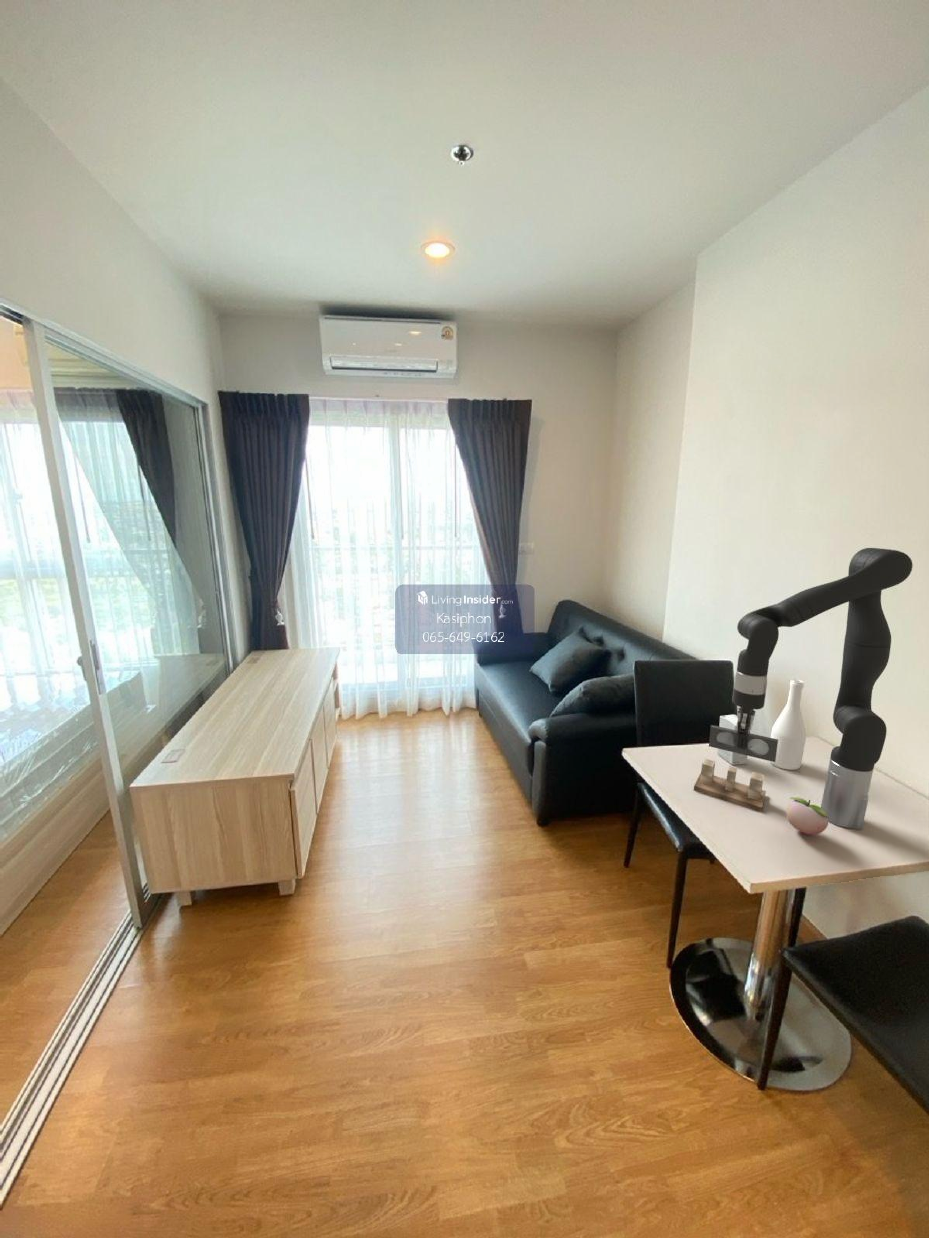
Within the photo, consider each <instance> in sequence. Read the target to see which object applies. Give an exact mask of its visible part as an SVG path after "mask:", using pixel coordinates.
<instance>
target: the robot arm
mask: <svg viewBox="0 0 929 1238" xmlns="http://www.w3.org/2000/svg"><path fill="white" fill-rule="evenodd" d="M913 566H914V565H913V560H912V558H911V557H910V556H909V555H908V554H907V553H905V552H903V551H900V550H896V549H887V548H879V547H864V548H861V549H860V550H858V551H857V552H856V553H855V554H853V555H852V557H851V560H850V562H849V565H848V575H847V576H845V577H842V578H840V579H836V580H834V581H830V582H826V583H824V584H820V585H816V586H813V587H809V588H807V589H804V590H801V591H800V592H797V593H795V594H793V595H791V596H789V597H787V598H785V599H784V600H781V601H780V602H778V603H775V604H772V605H768V606H765V607H761V608H758V609H755V610H753V611H751V612H748V613H746V614H745V615H744V616H742V617H741V618H740V619H739V621H738V622H737V628H736V629H737V632H738V634H740V636H741V637H743V638H745V639H746V640H747V641H748V642H747V647H746V649H742V650H741V651H740V652H739V654H738V657H737V658H738V659H737V665H736V671H735V672H736V673H735V675H734V682H733V690H732V698H731V702H732V703H733V705H735V706H737V707H738V711H737V713H736V714H737V715H736V716H737V718H738V721H737V727H738V731H737V736H738V743H737V747H738V748H741V749H746V747H747V740H748V737H749V733H751V731H752V729H753V726H754V720H755V717H756V712H757V711H756V710H761V709H763V708H764V707H765V704H766V703H765V702H766V695H767V688H768V687H767V686H768V672H769V667H770V666H769V664H770V660H771V657H772V655H773V653H774V651H775V648H776V645H777V644H778V641H779V635H780V634H779V628H782V627H786V628H787V627H788V628H793V627H795V626H799V625H800V624H802V623H804V622H807V621H809V620H811V619H812V618H814V617H816V616H818V615H820V614H822V613H824V612H828V611H829V610H831V609H834V608H836V607H838V606H841V605H844V604H846V603H848V607H847V616H846V617H847V618H846V629H845V635H844V641H843V651H842V662H841V663H842V664H841V671H840V672H841V675H840V684H839V689H838V694H837V698H836V702H835V705H834V710H833V714H832V720H833V723H834V726H835V728H836V729H837V730H838V731H839V732H840V733H841V734H842V737H841V741H840V745H839V746H837V745H836V746H835V747H833V748H832V749H831V752H830V757H829V761H828V762H829V763H828V767H827V773H826V778H825V784H824V788H823V794H822V800H821V803H820V804H821V805H820V808H822V809H823V810H824V811H825V813H826V814H827V816H828V818H829V819H828V822H830V823H832V824H834V825H836V826H839V827H842V828H847V829H858V830H862V829H863V826H864V821H865V818H866V817H865V816H866V812H867V806H868V803H869V791H870V787H871V786H870V785H871V782H872V777H873V773H874V768H875V765H876V764H878V762H879V760H880V759H881V756H882V752H883V750H884V746H885V743H886V742H885V741H886V737H887V733H888V731H887V725H886V722H885V721H884V720H883V719H882V717H880V716H879V715H877V713H875V712H874V711H873V709H872V697H873V690H874V686H875V683H876V682H877V680H879V678H880V676H882V674H883V672H884V671H885V669H886V668H887V665H888V663H889V659H890V655H891V647H892V633H891V630H890V627H889V624H888V621H887V618H886V616H885V614H884V610H883V608H882V591H883V590H887V589H888V588H892V587H895V586H898V585H900V584H901V583H903V582H904V581H906V580H907V579H908V577H910V575H911V574H912V571H913Z"/></svg>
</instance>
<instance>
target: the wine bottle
mask: <svg viewBox="0 0 929 1238" xmlns="http://www.w3.org/2000/svg"><path fill="white" fill-rule="evenodd" d="M789 683H790V684H789V693H788V698H787V703H786V705H785V706H784V708H783V709H782V711H781V713H780V715H779V716H778V717H777V719H776V720H775V722H774V724H773V725H772V727H771V728H772V729H771V735H770V738H774V739H778V745H777V753H776V760H775V762H772V761H768V762H769V763H770V764H771V765H773V766H775V767H777V768H780V769H783V770H789V771H795V770H798V769H800V767H801V766H802V763H803V757H804V751H805V746H806V742H807V741H806V740H807V733H806V727H805V724H804V718H803V715H802V709H801V702H802V701H801V700H802V694H803V693H802V691H803V689H804V687H805V683H804V681H803V680H801V679H796V678H793V679H791V681H790V682H789Z"/></svg>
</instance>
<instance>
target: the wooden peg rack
mask: <svg viewBox="0 0 929 1238" xmlns="http://www.w3.org/2000/svg"><path fill="white" fill-rule="evenodd" d="M702 761H703V762H702V763H701V771H700V773H699V775H698V777H697V779H696V781H695V783H694V786H693V791H695V792H698V793H702V794H705V795H708V796H711V797H714V798H718V799H720V800H724V801H727V802H729V803H732V804H735V805H737V806H742V807H744V808H748V809H751V810H755V811H757V812H760V813H762V810H763V806H764V802H765V798H766V794H767V791H766V790H764V789H763V784H764V776H765V775H764V774H762V773H757V772H754V771H752V772H751V775H750V779H749V785H746V784H743V783H740V782H737V781H736V778H737V777H736V776H737V769H738V768H737V767H733V766H730V765H729V767H728V769H727V773H726V778H723V777H720V776H716V775H715V767H716V761H715V760H712V759H708V758H704V759H703V760H702Z"/></svg>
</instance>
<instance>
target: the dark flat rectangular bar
mask: <svg viewBox="0 0 929 1238" xmlns="http://www.w3.org/2000/svg"><path fill="white" fill-rule="evenodd" d="M709 730H710V731H709V732H710V733H709V742H708V747H711V748H713V749H714V748H715V749H717V748H718V749H722V750H726V751H730V752H734V753H739V754H743V755H747V757H752V758H756V759H759V760H764V761H768V762H769V761H772V762H775V760H776V753H777V745H778V739H774V738H771V737H768V736H763V735H760V734H755V733H751V732H750V733H749V737H748V740H747V747H746V749H741V748H738V747H737V743H738V736H737V730H732V729H728V728H723V727H719V726H718V725H713V724H711V725H710V729H709Z"/></svg>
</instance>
